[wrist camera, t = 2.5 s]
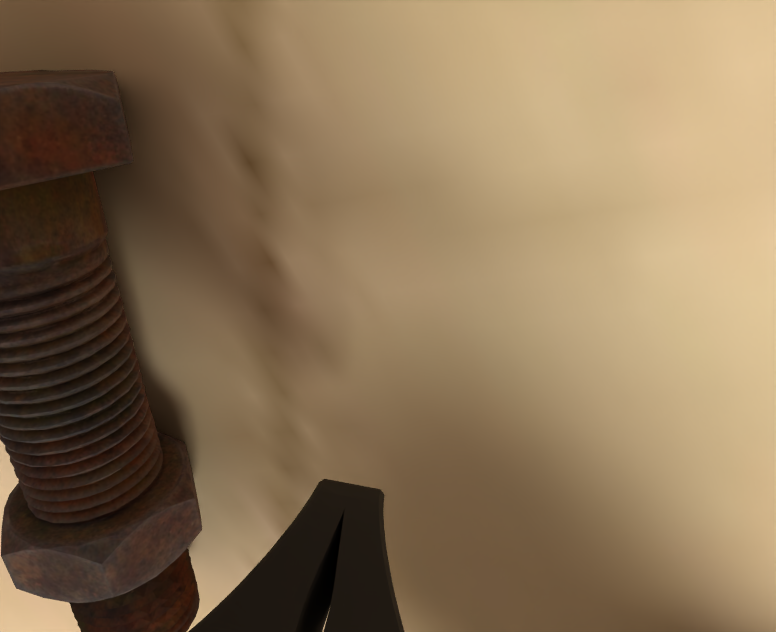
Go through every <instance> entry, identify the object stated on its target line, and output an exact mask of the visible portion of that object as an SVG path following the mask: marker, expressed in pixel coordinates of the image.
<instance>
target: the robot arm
mask: <svg viewBox="0 0 776 632" xmlns="http://www.w3.org/2000/svg"><path fill="white" fill-rule="evenodd" d="M383 506H384V493H383V492H382V491H381V490H380V489H375V488H370V487H364V486H359V485H354V484H349V483H344V482H338V481H333V480H328V479H324V480H322V481H320V482H319V483H318V485H317V487H316V489H315V490H314V492H313V494H312V495H311V497H310V498H309V500H308V501H307V503H306V504H305V506H304V507H303V509H302V510H301V512H300V513H299V514H298V516H297V517H296V518H295V520H294V521H293V522H292V524H291V525H290V526H289V528H288V529H287V530H286V531H285V533H284V534H283V535H282V536H281V537H280V539H279V540H278V541H277V542H276V544H275V545H274V546H273V547H272V549H271V550H270V551H269V552H268V553H267V554H266V556H265V557H264V558H263V559H262V560H261V561H260V562H259V563H258V564H257V565H256V567H255V568H254V569H253V570H252V571H251V572H250V573H249V574H248V575H247V576H246V578H245V579H244V580H243V581H242V582H241V583H240V584H239V585H238V586H237V587H236V588H235V589H234V590H233V591H232V592H231V593H230V594H229V595H228V596H227V597H226V598H225V599H224V600H223V601H222V602H221V603H220V604H219V605H218V606H217V607H215V608H214V609H213V610H212V611H211V612H210V613H209V614H208V615H207V616H206V617H205V618H204V619H203V620H201V621H200V622H199V623H198V624H197V625H196V626H194V627H193V628H192V629H191V630H190V631H189V632H322V630H323V627H324V624H325V621H326V618H327V621H326V625H325V629H324V632H404V629H403V625H402V621H401V618H400V614H399V610H398V606H397V602H396V597H395V593H394V588H393V584H392V579H391V573H390V568H389V562H388V556H387V550H386V542H385V532H384V519H383ZM329 608H330V610H329ZM328 611H329V614H328ZM327 615H328V617H327Z"/></svg>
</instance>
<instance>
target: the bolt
mask: <svg viewBox="0 0 776 632" xmlns="http://www.w3.org/2000/svg"><path fill="white" fill-rule="evenodd" d="M132 162H133V155H132V148H131V142H130V137H129V132H128V128H127V123H126V119H125V114H124V110H123V106H122V101H121V97H120V92H119V88H118V84H117V79H116V76H115V72H113V71H100V70H66V71H46V70H38V71H19V72H1V73H0V440H1V441H2V442H3V443H4V444H5V449H6V452H7V453H8V454H9V455H10V462H11V463H12V465H13V467H14V468H15V469H14V471H15V474H16V476H17V478H18V479H19V483H18V484H17V486H16V487H15V488H14V489H13V491H12V492H11V493H10V495H9V497H8V500H7V503H6V505H5V508H4V515H3V523H2V535H1V557H2V559H3V561H4V563H5V565H6V568H7V570H8V572H9V574H10V576H11V578H12V581H13V583H14V585H15V587H16V588H17V589H20V590H22V591H25V592H28V593H31V594H34V595H37V596H40V597H43V598H48V599H54V600H59V601H65V602H69V603H70V604H71V608H72V612H73V613H74V617H75V619H76V620H77V621H78V626H79V627H80V629H81V632H186V631H187V630H188V629H189V627H190V625H191V624H192V622H193V620H194V618H195V617H196V614H197V611H198V608H199V600H200V599H199V593H198V588H197V582H196V579H195V574H194V571H193V569H192V565H191V558H190V556H189V550H188V548H187V547H188V546H189V545H190V544H191V542H192V541H193V540H194V539H195V537H196V536H197V535H198V534H199V533H200V531H201V530H202V524H201V516H200V510H199V505H198V499H197V494H196V489H195V484H194V479H193V474H192V470H191V466H190V462H189V458H188V454H187V449H186V445H185V443H184V442H182V441H180V440H178V439H176V438H173V437H170V436H167V435H165V434H162V433H158V432H157V429H156V427H155V421H154V419H153V416H152V414H151V410H150V406H149V403H148V399H147V396H146V393H145V386H144V384H143V383H142V374H141V372H140V371H139V370H140V366H139V363H138V360H137V356H136V353H135V349H134V346H133V342H134V341H133V339H132V337H131V335H130V327H129V325H128V323H127V318H126V315H125V312H124V309H123V301H122V299H121V297H120V291H119V288H118V285H117V283H116V273H115V272H114V271H113V270H112V265H113V262H112V260H111V258H110V256H109V255H108V254H109V249H108V245H107V242H106V236H107V232H108V228H107V224H106V220H105V216H104V212H103V209H102V205H101V201H100V197H99V193H98V189H97V186H96V182H95V178H94V174H93V171H97V170H101V169H106V168H111V167H116V166H121V165H125V164H130V163H132Z"/></svg>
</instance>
